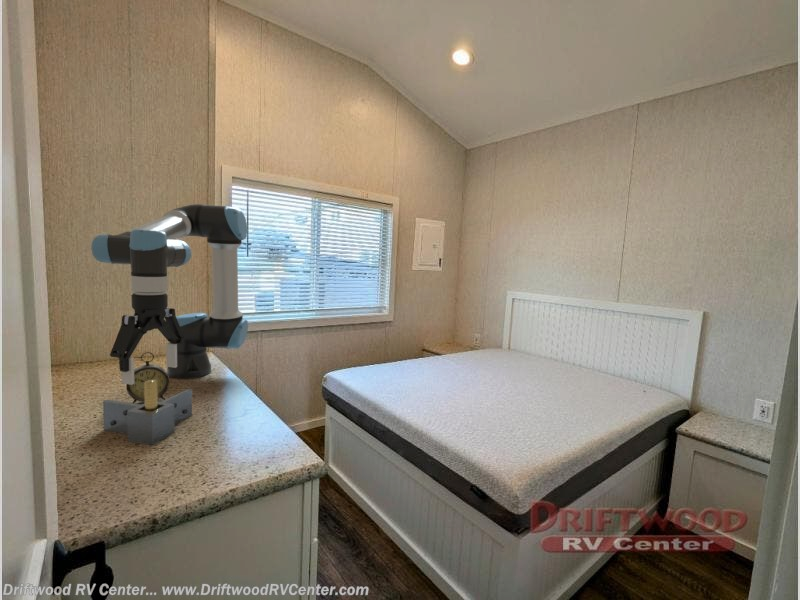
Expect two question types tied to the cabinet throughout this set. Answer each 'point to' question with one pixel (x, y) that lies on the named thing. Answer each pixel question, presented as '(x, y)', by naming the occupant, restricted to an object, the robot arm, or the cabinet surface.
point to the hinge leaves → (147, 418)
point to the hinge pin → (150, 395)
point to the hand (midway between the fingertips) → (151, 374)
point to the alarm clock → (146, 374)
